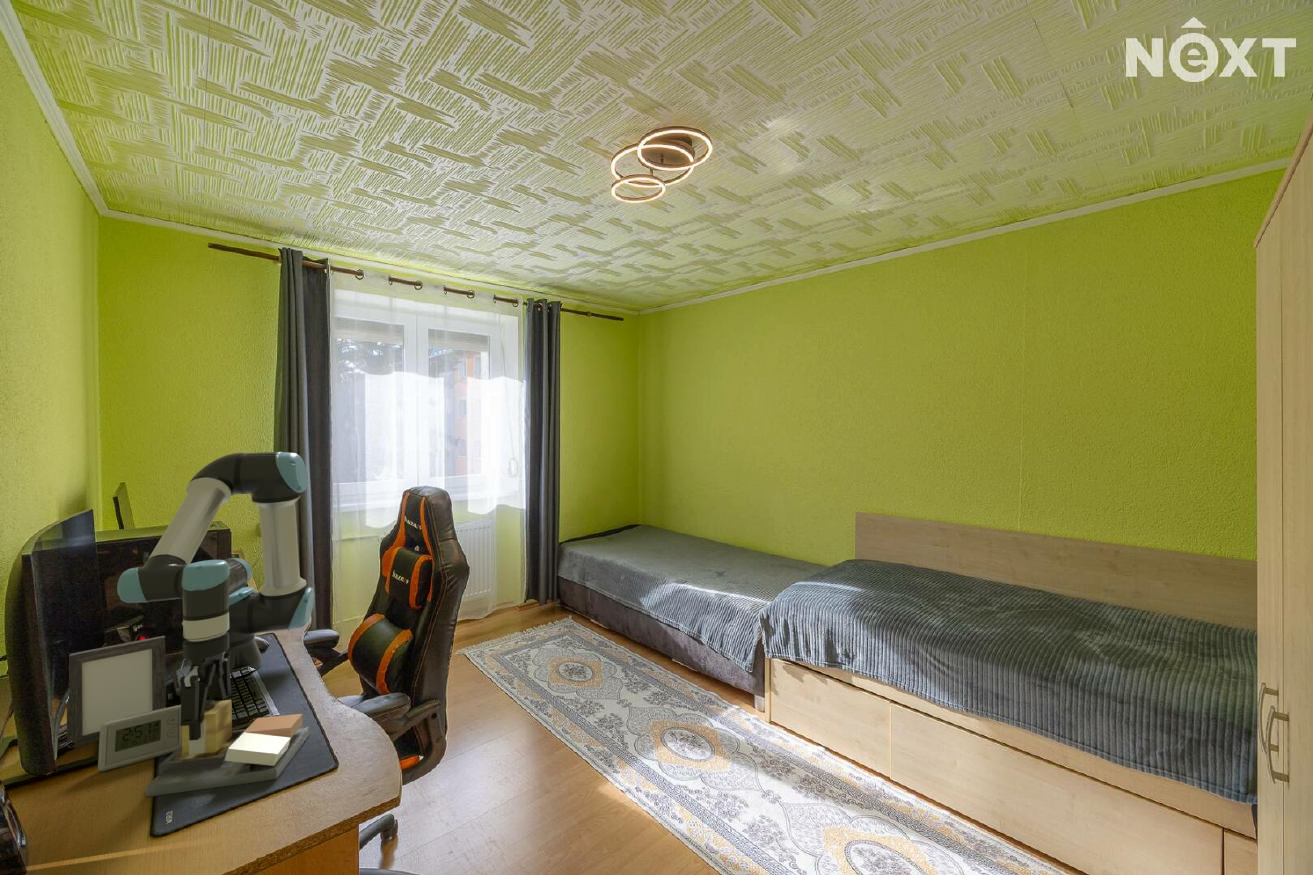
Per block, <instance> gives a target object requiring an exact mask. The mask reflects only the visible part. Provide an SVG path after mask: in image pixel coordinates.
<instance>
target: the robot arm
mask: <svg viewBox="0 0 1313 875" xmlns="http://www.w3.org/2000/svg"><path fill="white" fill-rule="evenodd" d="M307 472H308V471H307V467H306V465H305V462H304V460H303V458H302V457H301V456H300V455H299V453H298V454H297V453H296V452H283V451H269V452H268V451H266V452H265V451H264V452H235V453H230V454H226V455H223V456H221V457H219V458H216V459H214V460H213V461H211V462H209V463H207V464H206V465H205V466H204V467H202V468H200V470H199V471H198V472H196V473H195V475H194V476H193V477H192V478H191V479H190V481H189V482H188V484H187V485H186V488H185V492H186V496H185V498H184V499H183V501H182V503H181V505H180V506H179V507H178V509H177V511H176V513H175V514H174V515H173V517H172V519H171V521H170V522H169V525H167V528H166V529H165V531H164V532H163V534H162V536H161V537H160V538H159V541H158V542H157V544H156V546H155V547H154V548H153V550H152V552H151V554H150V555H149V557H148V559H146V562H145V563H144V565H143V566H137V567H133V568H128V569H127V570H124V572H122V574H120V576H119V579H118V581H117V586H116V589H117V595H118V596H119V599H120V601H122V602H124V603H127V604H129V603H130V604H133V603H134V604H135V603H136V604H137V603H150V602H159V601H170V600H176V599H177V600H178V599H179V600H181V599H182V622H181V625H182V628H183V629H182V630H183V631H182V637H183V638H184V640H183V642H182V656H183V658H184V659H185V660H188V661H190V662H191V663H190V667H189V673H188V675H186V676H183V675H182V676H181V677H180V679H179V685H180V689H181V692H180V694H181V696H180V699H181V700H180V705H181V722H180V725H181V726H187V725H189V755H193V754H201V753H205V752H206V751H207V748H206V720H203V719H204V712H205V706H206V701H207V698H208V697H209V700H215V701H224V700H232V699H231V697H230V696H231V694H232V685H231V684H232V683H231V680H232V679H231V680H230V673H232V672H237V671H239V670H241V669H242V668H245V667H248V666H249V667H251V668H254V669H256V671H257V670H259V669H260V668H261V667H262V665H263V656H262V654H261V651H260V649H259V647H258V644H257V641H256V640H255V638H256V636H255V634H259V633H268V632H278V631H287V630H288V631H290V630H295V629H301V628H304V627H305V626H306V625H307V624H308V623H309V621H310V618H311V616H312V612H313V608H314V602H315V589H314V588H313V587H310V586H308V585H307V580H306V579H304V578H302V577H301V575H300V574H301V573H300V558H299V557H300V556H299V544H298V543H299V542H298V541H299V540H298V528H297V526H298V525H297V513H296V502H297V501H298V500H300V498H301V496H302V494H301V493H303V492H305V491H306V490H307V487H308V473H307ZM235 495H250V496H251V502H252V503H253V504H254V505H257V506H258V510H259V523H260V537H261V549H262V562H263V573H264V574H263V575H264V584H262V586H260V588H259V589H258V592H256V589H255V588H254V587H252V586H249V587H248V586H246V585H247V584H248V582H249V581H250V580H251V578H252V574H253V569H252V567H251V565H250V563H249V562H248V561H246V560H245V559H243V558H239V557H231V558H230V557H229V558H225V559H209V560H208V559H207V560H201V561H197V562H192V561H193V558H194V557H195V555H196V553H197V551H198V550H199V547H200V546H201V545H202V542H203V540H204V538H205V536H206V534H207V533H208V531H209V529H210V527H211V526H212V523H213V521H214V519H215V517H216V516H217V514H218V513H219V511H220V508H221V506H222V505H224V504H226V503H228V502H229V500H230V499H231V497H232V496H235ZM191 562H192V563H191ZM204 682H206V683H204Z"/></svg>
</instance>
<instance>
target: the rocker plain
mask: <svg viewBox="0 0 1313 875" xmlns="http://www.w3.org/2000/svg"><path fill="white" fill-rule="evenodd" d="M290 739H291V738H289V737H280V736H271V735H263V734H254V733H245V732H244V733H243V734H242V735H241V736H240V737H239V738H238V739H237V740H236V741H235V742H234V743H233V744H232V745H231V746H230V747H229V748H228V750H227V754H226V757H225V761H232V762H242V763H252V764H262V765H271V766H275V764H276V763H277V762H278V760H279V759H280V758H281V757H282V755H283V754H284V753H285V752H286V750H287V749H288V746H289V742H290Z"/></svg>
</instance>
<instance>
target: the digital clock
mask: <svg viewBox="0 0 1313 875" xmlns="http://www.w3.org/2000/svg"><path fill="white" fill-rule="evenodd" d="M180 722H181V704H179V705H178V704H177V705H173V706H169V707H166V708H162V709H157V710H153V711H149V712H145V713H141V714H136V715H132V716H128V717H124V718H122V719H118V720H114V721H110V722H106V723H104V724H102V725H101V728H100V740H99V741H98V760H97V769H98V771H99V772H105V771H110V770H113V769H116V768H122V767H126V766H129V765H133V764H136V763H140V762H143V761H147V760H151V759H154V758H157V757H161V756H164V755H167V754H170V753H171V754H172V753H173V752H175V751H176V750H177V749H178V748H179V747H180V746H181V745H182V726H181V725H180Z"/></svg>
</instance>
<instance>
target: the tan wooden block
mask: <svg viewBox="0 0 1313 875" xmlns="http://www.w3.org/2000/svg"><path fill="white" fill-rule="evenodd" d="M232 710H233V709H232V699H230V700H224V701H215V700H210V699H208V700H207V699H206V706H205V712H204V719H203V720H206V748H207V751H206V752H205V753H211V752H216V751H217V750H218V749H219V748H220V747H221V746H222V745H223V744H224V743H226V742H227V741H228V740H229V739H230V738H231V737H232V731H233V726H232V725H233V721H232V720H233V716H232V715H233V714H232ZM201 754H203V753H201ZM187 755H189V725H187V726H182V756H187ZM193 755H195V754H193Z"/></svg>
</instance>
